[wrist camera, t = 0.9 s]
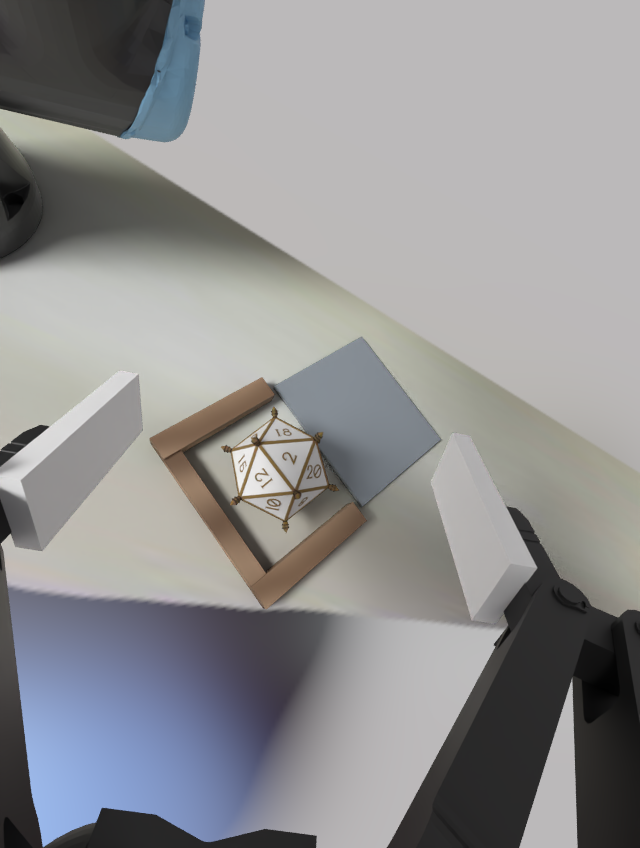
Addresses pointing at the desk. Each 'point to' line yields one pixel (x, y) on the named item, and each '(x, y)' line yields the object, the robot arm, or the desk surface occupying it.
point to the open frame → (260, 582)
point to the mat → (358, 418)
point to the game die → (279, 469)
